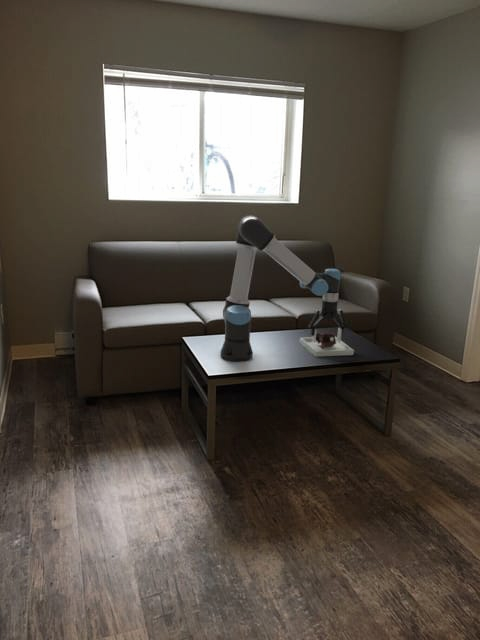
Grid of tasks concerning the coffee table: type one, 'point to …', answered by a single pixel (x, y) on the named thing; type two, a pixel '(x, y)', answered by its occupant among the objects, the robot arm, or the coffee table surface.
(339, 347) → the parts tray
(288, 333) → the coffee table surface
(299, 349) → the coffee table surface
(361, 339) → the coffee table surface
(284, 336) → the coffee table surface
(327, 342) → the pottery mug
